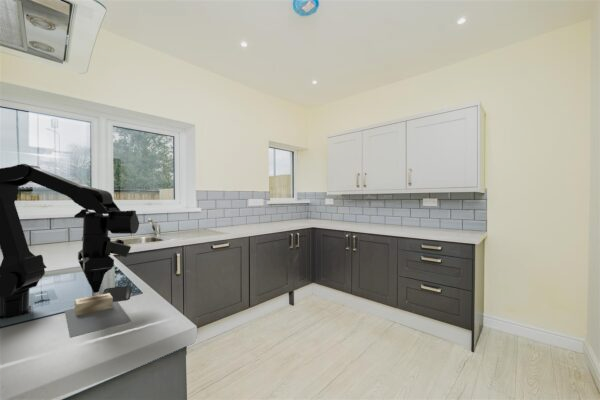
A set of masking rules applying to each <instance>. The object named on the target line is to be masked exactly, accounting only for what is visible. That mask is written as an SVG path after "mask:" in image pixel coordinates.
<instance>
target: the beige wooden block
mask: <svg viewBox="0 0 600 400" xmlns="http://www.w3.org/2000/svg"><path fill="white" fill-rule="evenodd" d="M112 307H113V297H112V296H111V294H110V293H107V294H103V293H102V294H97V295H91V296H86V297H81V298H75V299H74V308H75V309H74V308H73V309H74V310H75V314H76V316H78V315H82V314H87V313H91V312H96V311H100V310H105V309H109V308H112Z"/></svg>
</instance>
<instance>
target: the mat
mask: <svg viewBox="0 0 600 400" xmlns="http://www.w3.org/2000/svg"><path fill="white" fill-rule="evenodd" d="M74 309H75V307H74V308H70V309H65V310H64V314H65V319H66V324H67V328H68V329H67V330H68V335H69V338H74V337H78V336H79V337H80V336H83V335H86V334H90V333H94V332H97V331H100V330H102V331H103V330H105V329H110V328H113V327H116V326H120V325H121V326H122V325H123V324H128V323H132V322H133V321H132V319H131V318H130V317H129V316H128V314H127V313H126V311H125V310H124V308H123V307H122V306H121V304H120V303H119V301H115V302H113V307H112V308H109V309H105V310H100V311H96V312H91V313H87V314H82V315H78V316H76V314H75V310H74Z"/></svg>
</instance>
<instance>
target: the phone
mask: <svg viewBox="0 0 600 400" xmlns="http://www.w3.org/2000/svg"><path fill="white" fill-rule="evenodd" d="M131 291H132V285H124V286H115V287H108V288H105V289H104V290H103V292H102V294H107V293H110V294H111V296H112V297H113V302H115V301H117V302H123V301H128V300H130V298H131Z"/></svg>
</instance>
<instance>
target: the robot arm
mask: <svg viewBox="0 0 600 400" xmlns="http://www.w3.org/2000/svg"><path fill="white" fill-rule="evenodd" d="M31 182H32V183H34V184H37V185H39V186H41V187H44V188H46V189H48V190H52V191H54V192H56V193H58V194H61V195H64V196H66V197H68V198H69V199H70V200H72V202H73V203H74V204H77V205H78V206H80V207H82V208H83V209H81V210H80V211H79V212H76V214H74V215H73V217H74V218H76V219H80V218H81V219H82V218H83V220H82V221H83V224H82V237H81V242H82V249H80V251H78V252H77V260H78V263H79V266H80V267H81V270H82V272H83V274H84V277H85V278H86V281H87V283H88V284H89V287H90V288H91V290H92V292H93V293H94V294H96V293H99V292H100V289H101V286H102V283H103V280H104V277H105V275H106V274H107V272H109V271H110V270H111V271H112V269H113V268H114V267H115V259H114V258H113V257H111V254H114V255H119V256H121V257H123V258H124V257H125V258H127V257H128V255H129V253H130V251H131V248H132V246H130V245H129V244H126V243H125V242H124V240H123V239H119V238H117V239H116V240H115V241H112V240H111V237H109V232H110V233H111V234H117V235H121V234H123V235H125V234H126V235H130V234H131V235H133V234H137V232H138V230H139V227H140V220H139V217H138V215H137V210H135V209H134V210H133V209H132V210H131V209H130V210H121V209H120V208H119V206H117V204H116V203H115V202H114V200H113V199H114V197H113V196H112V193H111V192H109V191H107V190H104V189H99V188H96V187H89V186H85V185H81V184H79V183H76V182H74V181H72V180H70V179H66V178H64V177H62V176H59V175H57V174H54V173H52V172H50V171H48V170H45V169H43V168H41V167H40V166H38V165H34V164H28V163H20V164H16V165H13V166H12V165H11V166H9V167H8V166H7V167H2V168H1V167H0V251H1V253H2V260H1V262H0V320H2V319H3V320H4V319H8V318H13V317H17V316H18V317H19V316H24V315H27V314H30V313H32V312H31V311H32V306H31V305H30V289H32V288H36V287H37V286H38V284H39V282H40V280H41V279H42V278H43V276H44V275H45V272H46V271H45V269H46V268H47V265H45V263H44V257H43V255H42V254H37V255H35V254H34V253H32V252H31V251H30V249H29V246H28V242H27V239H26V236H25V232H24V230H23V229H24V228H23V226H22V223H21V220H20V217H19V213H18V209H17V206H16V203H15V201H16V199H17V197H18V194H19V187H22V186H26V185H27V184H29V183H31Z"/></svg>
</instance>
